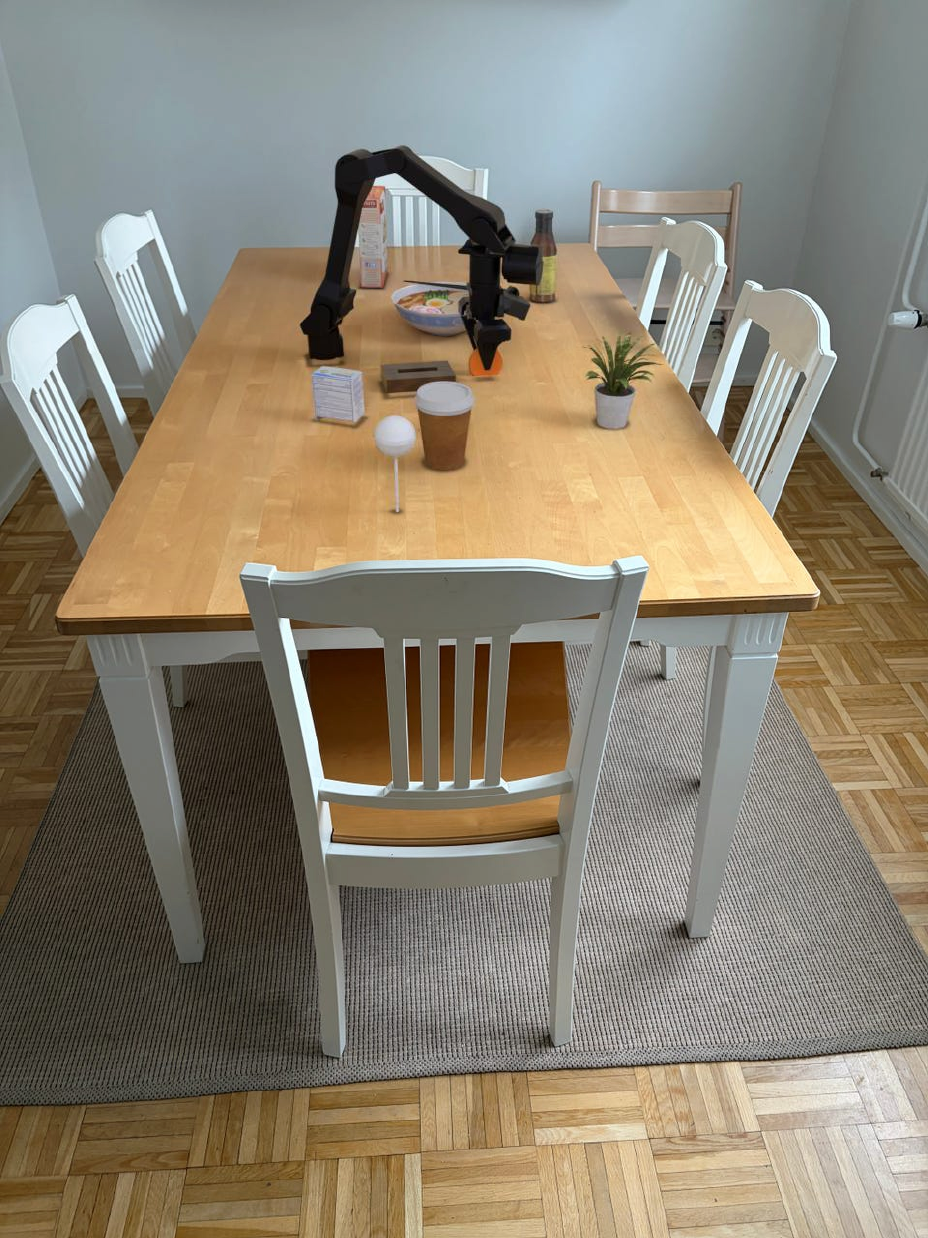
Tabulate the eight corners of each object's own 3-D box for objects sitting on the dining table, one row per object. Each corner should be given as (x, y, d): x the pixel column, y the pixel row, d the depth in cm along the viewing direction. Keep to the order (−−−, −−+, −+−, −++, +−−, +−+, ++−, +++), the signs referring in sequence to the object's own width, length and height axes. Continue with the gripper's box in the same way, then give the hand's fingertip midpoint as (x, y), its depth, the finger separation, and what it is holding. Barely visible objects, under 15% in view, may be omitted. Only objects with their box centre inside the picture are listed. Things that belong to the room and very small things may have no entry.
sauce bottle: (559, 298, 227) (565, 209, 216) (547, 305, 223) (552, 215, 211) (535, 293, 230) (540, 206, 218) (523, 300, 226) (526, 211, 214)
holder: (387, 398, 177) (386, 380, 175) (381, 382, 183) (380, 364, 181) (455, 393, 179) (455, 375, 177) (447, 377, 185) (447, 360, 183)
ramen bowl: (369, 339, 203) (367, 300, 198) (413, 308, 220) (413, 272, 215) (478, 355, 195) (479, 316, 190) (515, 322, 212) (517, 285, 208)
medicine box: (365, 417, 169) (363, 370, 164) (355, 427, 166) (352, 379, 161) (325, 411, 171) (321, 364, 166) (314, 420, 168) (310, 373, 163)
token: (466, 378, 183) (473, 345, 180) (465, 376, 184) (471, 343, 181) (498, 381, 185) (505, 349, 182) (497, 379, 186) (504, 347, 183)
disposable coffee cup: (453, 480, 150) (453, 408, 143) (403, 465, 154) (401, 394, 147) (484, 458, 156) (486, 388, 150) (436, 444, 161) (435, 375, 154)
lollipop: (377, 501, 144) (373, 408, 135) (416, 500, 144) (414, 407, 136) (377, 522, 139) (373, 426, 130) (418, 520, 139) (416, 425, 131)
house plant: (595, 448, 160) (605, 353, 151) (552, 417, 170) (558, 327, 160) (664, 432, 165) (677, 340, 156) (618, 404, 175) (628, 315, 166)
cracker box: (384, 288, 232) (381, 196, 220) (359, 288, 232) (355, 196, 220) (389, 272, 243) (386, 184, 231) (365, 272, 243) (361, 184, 231)
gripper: (541, 292, 168) (536, 377, 177) (514, 263, 183) (511, 343, 192) (479, 295, 166) (477, 381, 175) (457, 266, 181) (457, 347, 190)
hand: (482, 362), depth 183 cm, fingers open, 7 cm apart
